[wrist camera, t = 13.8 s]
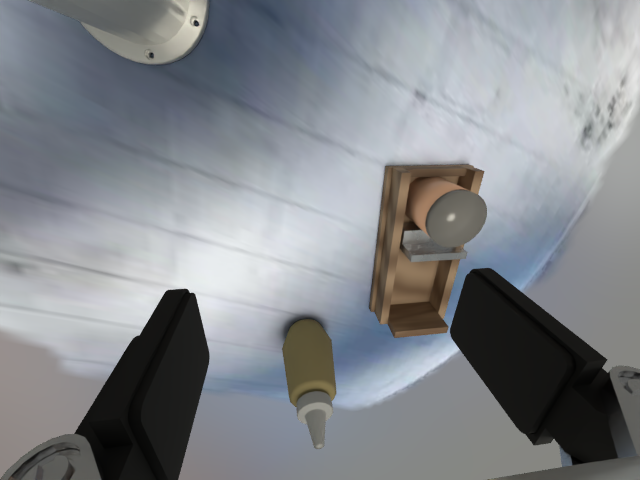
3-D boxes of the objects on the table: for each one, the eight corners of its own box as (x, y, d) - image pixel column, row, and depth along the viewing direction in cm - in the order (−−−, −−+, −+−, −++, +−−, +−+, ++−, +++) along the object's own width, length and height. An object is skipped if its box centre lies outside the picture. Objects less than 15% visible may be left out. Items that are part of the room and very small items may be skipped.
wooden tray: (385, 166, 37) (407, 179, 30) (469, 164, 38) (506, 176, 32) (369, 307, 47) (382, 339, 41) (434, 302, 49) (457, 331, 43)
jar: (405, 175, 36) (435, 192, 29) (453, 173, 37) (494, 190, 30) (398, 222, 40) (424, 249, 32) (442, 220, 40) (477, 245, 33)
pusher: (397, 223, 39) (414, 241, 34) (447, 221, 40) (471, 238, 35) (394, 242, 40) (410, 262, 36) (443, 239, 41) (465, 258, 36)
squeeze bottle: (294, 307, 45) (303, 419, 29) (336, 320, 48) (366, 430, 32) (274, 341, 48) (272, 461, 32) (315, 352, 50) (332, 468, 35)
